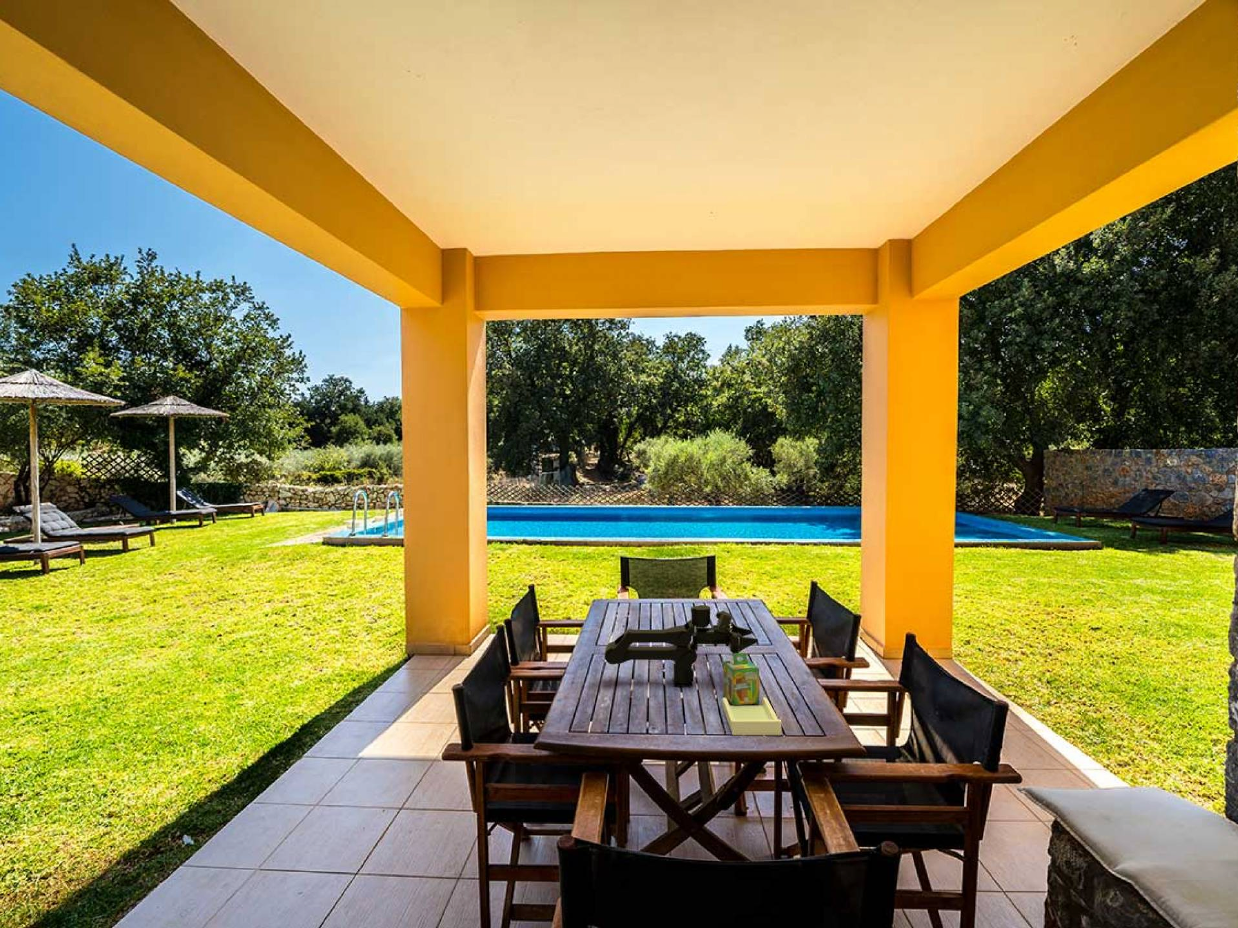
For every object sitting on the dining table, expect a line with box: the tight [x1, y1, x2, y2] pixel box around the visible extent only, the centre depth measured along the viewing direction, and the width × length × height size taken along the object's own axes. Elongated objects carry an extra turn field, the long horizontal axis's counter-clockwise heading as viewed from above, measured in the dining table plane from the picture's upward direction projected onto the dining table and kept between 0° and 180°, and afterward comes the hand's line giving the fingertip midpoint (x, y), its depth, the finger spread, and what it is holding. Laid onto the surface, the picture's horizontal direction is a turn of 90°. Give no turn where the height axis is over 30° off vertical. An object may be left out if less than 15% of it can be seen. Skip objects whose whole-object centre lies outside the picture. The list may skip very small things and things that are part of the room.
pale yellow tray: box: [722, 697, 782, 736], centre depth 179 cm, size 14×18×4 cm
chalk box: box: [723, 652, 760, 706], centre depth 193 cm, size 9×9×15 cm
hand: (754, 636), depth 206 cm, fingers open, 9 cm apart
